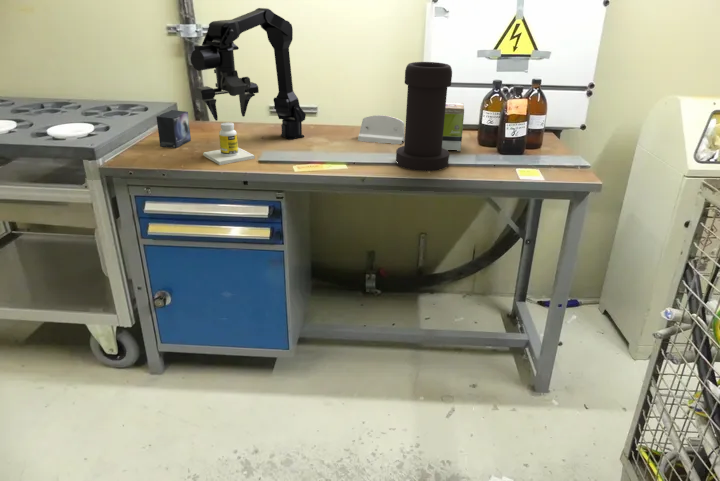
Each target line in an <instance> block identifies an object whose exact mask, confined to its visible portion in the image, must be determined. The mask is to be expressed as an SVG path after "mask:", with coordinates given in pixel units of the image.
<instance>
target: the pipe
mask: <svg viewBox="0 0 720 481" xmlns="http://www.w3.org/2000/svg"><path fill="white" fill-rule="evenodd" d="M452 79H453V69H452V67H451V65H450V64H448V63H443V62H437V61H432V62H431V61H415V62H414V61H413V62H409V63H408V64H407V65H406V67H405V70H404V85H406V86H407V92H406V93H407V94H406V98H407V99H406V111H405V112H406V114H405V125H404V136H405V142H403V143H404V145H401V146H400V147H398V148H397V149H396V152H395V154H396V156H395V162H396V161H397V162H398V165H397V166H399V167H401V168H403V169H406V170H410V171H418V172H434V171H441V170H443V169H446V168H448V167H449V159H450V158H449V157H450V152H449V151H448V150H446V149H443V148H442V141H443V130H444V119H445V108H446V103H447V95H448V94H447V93H448V88H449V87H451V86H452V81H453V80H452Z"/></svg>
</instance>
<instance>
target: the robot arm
mask: <svg viewBox="0 0 720 481" xmlns="http://www.w3.org/2000/svg"><path fill="white" fill-rule="evenodd" d="M258 26H260V28H261V29H262V30H263V31H265V32H266V36H267V40H268V42H269V43H270V45H271V46H272V49H273V52H274V60H275V70H276V78H277V79H276V80H277V87H278V93H277V96H275V97H274V98H273V103H274V105H273V106H274V107H273V108H274V110H275V113H276V114H277V117H278V120H281V123H282V124H281V125H280V126H281V134H280V136H281V137H283V138H285V139H287V140H293V139H300V138H304V137H305V135H304V134H303V132H302V131H303V129H302V127H303V126H302V123H303V122H304V121H305V120H306V116H307V114H306V113H305V112H304V110H303V109H302V107H301V106H300V101H299V98H298V96H297V95H296V93H295V91H294V88H293V86H294V85H293V77H292V76H293V75H292V68H291V55H290V46H291V44H292V42H293V36H294V35H293V26H292V23H290V21H289V20H286V19H285V18H283V17H282V16H280V15H278V14H276V13H275V12H274V11H273V10H272V9H270V8H267V7H266V8H264V7H258V8H255V10H252V11H249V12H247V13H245V14H241V15H238V16H237V17H235V18H232V19H220V20H214V21H213V20H212V21H211V22H210V23H208V27H207V28H208V29H207V31H206V34H205V36H204V38H203V41H202V44H201V45H198V44H196V45H194V47H193V48H194V49H193V51H192V53H191V56H190V64H191V65H192V67H193V68H194V69H195V71H199V72H201V71H206V70H212V69H213V74H215V77H216V82H215V87H216V88H213V87H210V86H206V85H205V86H198V87H197V86H196V88H195V90H194V95H195V98H198V99H200V100H201V101H204V103H205V105H206V106H207V107H208V110H209V111H210V113H211V115H212V117H213V119H214V121H218V120H219V118H218V111H217V103H216V102H217V98H215V97H216V95H218V96H219V95H227V94H229V95H230V96H232V97H235V96H238V98H239V106H240V113H241V116H242V117H243V118H245V116H246V112H247V109H248V104H249V103H250V100H251V99H252V98H253V97H255V96H256V94H258V93H259V85H258V84H257V83H255V82H253V81H251V78H250V77H249V76H242V77H239V75H238V70H236V66H235V64H236V63H235V55H234V51H236V50H239V47H238V45H236V43H234V42H235V41H236V40H238V39H239V37H240V36H241V34H243V33H245V32H246V31H249V30H251V29H253V28H257V27H258Z"/></svg>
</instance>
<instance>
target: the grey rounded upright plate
mask: <svg viewBox="0 0 720 481" xmlns="http://www.w3.org/2000/svg"><path fill="white" fill-rule="evenodd" d="M361 120H362V121H361V125H360V129H359V134H358V138H357V142H366V143H367V142H368V143H375V142H378V143H377V144H385V143H391V144H390V145H396V144H402V145H403V143H405V122H404V121H403V120H401V119H400V118H397V117H393V116H390V115H383V114H382V115H381V114H376V115H369V116H365V117H364V118H362V119H361ZM402 141H403V142H402Z"/></svg>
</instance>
